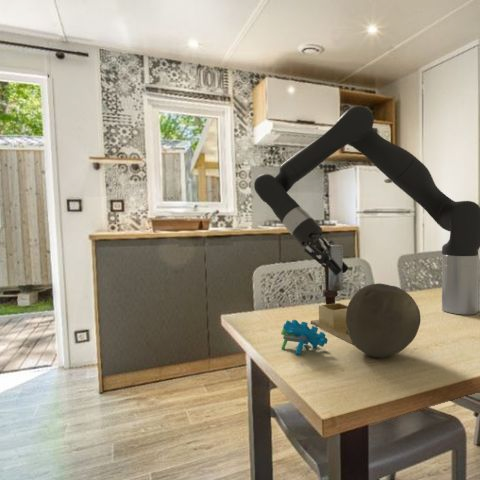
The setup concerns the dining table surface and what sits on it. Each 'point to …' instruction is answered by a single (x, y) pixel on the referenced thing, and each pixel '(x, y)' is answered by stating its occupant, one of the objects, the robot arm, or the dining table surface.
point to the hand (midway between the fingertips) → (342, 271)
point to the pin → (337, 256)
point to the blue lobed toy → (302, 335)
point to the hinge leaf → (333, 320)
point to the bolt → (328, 293)
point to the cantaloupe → (382, 320)
